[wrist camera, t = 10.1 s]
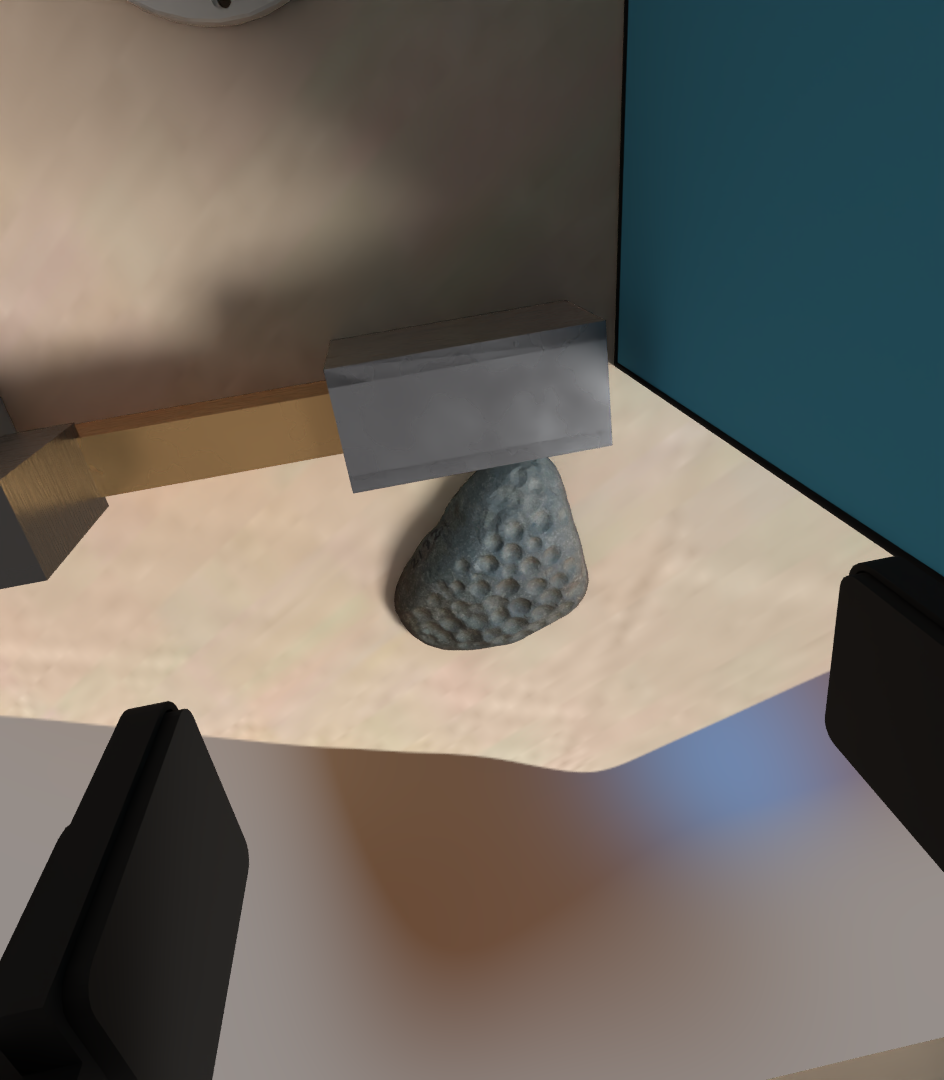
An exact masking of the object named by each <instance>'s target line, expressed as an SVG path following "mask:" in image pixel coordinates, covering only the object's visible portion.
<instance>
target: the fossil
mask: <svg viewBox="0 0 944 1080" xmlns="http://www.w3.org/2000/svg"><path fill="white" fill-rule="evenodd" d="M587 587H588V571H587V567H586V564H585V560H584V555H583V550H582V545H581V542H580V538H579V535H578V532H577V529H576V526H575V524H574V521H573V517H572V513H571V509H570V505H569V503H568V500H567V495H566V491H565V488H564V485H563V482H562V479H561V476H560V474H559V472H558V470H557V468H556V466H555V465H554V464H553V462H552V461H551V460H550V459H549V458H548V457H547V458H541V459H536V460H530V461H525V462H520V463H514V464H509V465H503V466H498V467H493V468H487V469H482V470H477V471H476V472H475V473H474V474H473V475H472V476H471V477H470V478H469V480H468V481H467V482H466V483H465V484H464V485H463V486H462V487H461V488H460V490H459V491H458V493H457V494H456V495H455V496H454V498H453V499H452V500H451V502H450V503H449V504H448V506H447V507H446V509H445V513H444V515H443V516H442V518H441V520H440V522H439V523H438V525H437V526H436V527H435V528H434V529H433V530H432V531H431V532H430V533H429V534H427V535H426V536H425V538H424V539H423V540H422V541H421V543H420V544H419V546H418V548H417V549H416V551H415V553H414V554H413V556H412V558H411V559H410V561H409V562H408V564H407V565H406V567H405V568H404V570H403V573H402V575H401V577H400V579H399V581H398V584H397V587H396V591H395V601H394V602H395V609H396V612H397V614H398V616H399V617H400V619H401V622H402V623H403V625H404V626H405V627H406V629H407V630H408V631H409V632H410V633H411V634H412V635H413V636H414V637H416V638H417V639H419V640H420V641H422V642H423V643H425V644H427V645H430V646H433V647H436V648H440V649H443V650H476V649H483V648H489V647H494V646H501V645H507V644H511V643H514V642H517V641H519V640H521V639H523V638H525V637H527V636H528V635H531V634H532V633H534V632H536V631H538V630H540V629H542V628H544V627H545V626H547V625H549V624H551V623H553V622H555V621H556V620H558V619H560V618H562V617H564V616H566V615H568V614H569V613H570V612H571V611H572V610H573V609H575V608H576V607H577V606H578V604H579V603H580V602H581V600H582V599H583V597H584V596H585V594H586V591H587Z"/></svg>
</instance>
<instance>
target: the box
mask: <svg viewBox="0 0 944 1080" xmlns="http://www.w3.org/2000/svg"><path fill="white" fill-rule="evenodd" d="M614 365H615V367H617V368H618V369H620V370H621V371H623V372H624V373H626V374H627V375H629V376H630V377H631V378H633V379H634V380H636V381H637V382H639V383H640V384H642V385H643V386H645V387H646V388H648V389H649V390H651V391H652V392H654V393H655V394H656V395H658V396H659V397H661V398H662V399H664V400H665V401H667V402H668V403H670V404H671V405H673V406H674V407H676V408H677V409H679V410H680V411H681V412H683V413H684V414H686V415H687V416H689V417H690V418H692V419H693V420H695V421H696V422H698V423H699V424H701V425H702V426H704V427H705V428H706V429H708V430H709V431H711V432H712V433H714V434H715V435H717V436H718V437H720V438H721V439H723V440H724V441H726V442H727V443H729V444H730V445H732V446H733V447H734V448H736V449H737V450H739V451H740V452H742V453H743V454H745V455H746V456H748V457H749V458H751V459H752V460H754V461H755V462H757V463H758V464H759V465H761V466H762V467H764V468H765V469H767V470H768V471H770V472H771V473H773V474H774V475H776V476H777V477H779V478H780V479H782V480H783V481H784V482H786V483H787V484H789V485H790V486H792V487H793V488H795V489H796V490H798V491H799V492H801V493H802V494H804V495H805V496H807V497H808V498H809V499H811V500H812V501H814V502H815V503H817V504H818V505H820V506H821V507H823V508H824V509H826V510H827V511H829V512H830V513H832V514H833V515H834V516H836V517H837V518H839V519H840V520H842V521H843V522H845V523H846V524H848V525H849V526H851V527H852V528H854V529H855V530H857V531H858V532H860V533H861V534H862V535H864V536H865V537H867V538H868V539H870V540H871V541H873V542H874V543H876V544H877V545H879V546H880V547H882V548H883V549H885V550H886V551H887V552H889V553H890V554H892V555H893V556H897V557H901V558H904V559H906V560H907V561H909V562H910V563H912V564H913V565H915V566H916V567H918V568H919V569H921V570H922V571H924V572H925V573H927V574H928V575H930V576H931V577H933V578H934V579H936V580H937V581H939V582H940V583H942V584H943V585H944V0H625V2H624V37H623V72H622V108H621V143H620V178H619V214H618V249H617V284H616V320H615V355H614Z"/></svg>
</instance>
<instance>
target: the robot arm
mask: <svg viewBox="0 0 944 1080" xmlns="http://www.w3.org/2000/svg"><path fill="white" fill-rule="evenodd" d="M126 1H128V2H130V3H131V4H133V5H135V6H137V7H138V8H140V9H142V10H144V11H145V12H148V13H150V14H153V15H156V16H159V17H162V18H165V19H167V20H170V21H173V22H176V23H180V24H188V25H195V26H202V27H220V26H231V25H240V24H243V23H246V22H249V21H252V20H255V19H258V18H261V17H264V16H267V15H268V14H270V13H272V12H273V11H275V10H276V9H278V8H279V7H281V6H283V5H284V4H286V3H287V2H289V1H291V0H231V4H230V6H229V7H228V8H222V7H221V6H220V4H219V0H126ZM825 725H826V729H827V732H828V735H829V737H830V738H831V740H832V742H833V743H834V744H835V746H836V747H837V748H838V749H839V751H840V752H841V753H842V754H843V755H844V756H845V758H847V760H848V761H849V762H850V763H851V765H852V766H853V767H854V768H855V769H856V770H857V771H858V773H859V774H860V775H861V776H862V777H863V779H864V780H865V781H866V782H867V783H868V784H869V786H870V787H871V788H872V789H873V790H874V791H875V793H876V794H877V795H878V796H879V797H880V798H881V800H882V801H883V802H884V803H885V804H886V805H887V807H888V808H889V809H890V810H891V811H892V812H893V814H894V815H895V816H896V817H897V818H898V819H899V821H900V822H901V823H902V824H903V825H904V826H905V828H906V829H907V830H908V831H909V832H910V833H911V835H912V836H913V837H914V838H915V839H916V840H917V842H918V843H919V844H920V845H921V846H922V847H923V849H924V850H925V851H926V852H927V853H928V855H929V856H930V857H931V858H932V859H933V860H934V861H935V863H936V864H937V865H938V866H939V867H940V868H941V870H942V871H943V872H944V585H943V584H942V583H940V582H939V581H937V580H936V579H934V578H933V577H931V576H930V575H928V574H927V573H925V572H924V571H922V570H921V569H919V568H918V567H916V566H915V565H913V564H912V563H910V562H909V561H907V560H906V559H904V558H901V557H897V556H893V557H888V558H883V559H878V560H873V561H868V562H863V563H858V564H856V565H854V566H853V567H852V569H851V570H850V573H849V576H846V577H844V578H843V580H842V581H841V584H840V590H839V599H838V608H837V617H836V625H835V634H834V643H833V651H832V660H831V669H830V678H829V687H828V695H827V704H826V713H825ZM248 868H249V855H248V848H247V844H246V841H245V838H244V836H243V834H242V831H241V829H240V826H239V824H238V822H237V819H236V817H235V814H234V812H233V810H232V807H231V805H230V803H229V800H228V798H227V796H226V793H225V791H224V788H223V786H222V784H221V781H220V779H219V776H218V774H217V772H216V769H215V767H214V765H213V762H212V760H211V758H210V755H209V753H208V750H207V748H206V746H205V743H204V741H203V738H202V736H201V734H200V731H199V729H198V727H197V724H196V722H195V719H194V717H193V715H192V713H191V712H190V711H189V710H188V709H181V710H178V708H177V707H176V705H175V704H174V703H173V702H169V701H167V702H162V703H157V704H152V705H147V706H142V707H137V708H132V709H128V710H126V711H124V713H123V714H122V716H121V717H120V719H119V722H118V724H117V726H116V728H115V730H114V732H113V734H112V736H111V739H110V741H109V743H108V745H107V747H106V749H105V751H104V753H103V756H102V758H101V760H100V762H99V764H98V766H97V768H96V771H95V773H94V775H93V777H92V779H91V781H90V784H89V786H88V788H87V790H86V792H85V794H84V796H83V798H82V801H81V802H80V805H79V807H78V809H77V811H76V814H75V815H74V817H73V819H72V822H71V824H70V825H69V826H67V827H66V828H65V830H64V831H63V833H62V834H61V836H60V838H59V839H58V841H57V843H56V845H55V847H54V849H53V851H52V854H51V856H50V858H49V860H48V862H47V864H46V866H45V868H44V870H43V872H42V874H41V877H40V879H39V881H38V883H37V885H36V887H35V889H34V891H33V893H32V895H31V898H30V900H29V902H28V904H27V906H26V908H25V910H24V912H23V914H22V916H21V918H20V921H19V923H18V925H17V927H16V929H15V931H14V933H13V935H12V937H11V940H10V941H9V944H8V946H7V948H6V950H5V952H4V954H3V956H2V958H1V960H0V1080H212V1077H213V1071H214V1065H215V1059H216V1054H217V1048H218V1042H219V1037H220V1031H221V1025H222V1019H223V1014H224V1008H225V1002H226V996H227V990H228V985H229V979H230V973H231V967H232V962H233V955H234V950H235V944H236V939H237V933H238V927H239V921H240V915H241V910H242V904H243V898H244V892H245V887H246V880H247V875H248ZM768 1080H944V1037H943V1038H939V1039H935V1040H930V1041H926V1042H922V1043H918V1044H914V1045H909V1046H906V1047H901V1048H897V1049H892V1050H888V1051H884V1052H880V1053H875V1054H871V1055H867V1056H863V1057H859V1058H855V1059H850V1060H846V1061H842V1062H838V1063H834V1064H830V1065H826V1066H822V1067H817V1068H813V1069H809V1070H805V1071H801V1072H797V1073H793V1074H788V1075H785V1076H780V1077H776V1078H772V1079H768Z"/></svg>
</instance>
